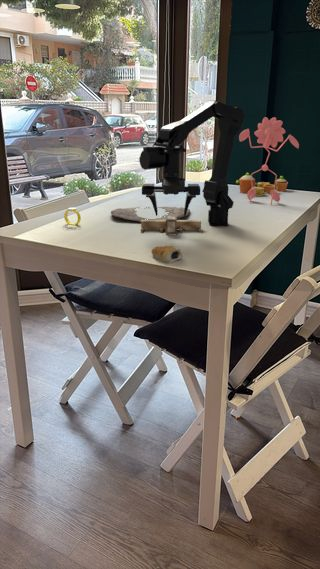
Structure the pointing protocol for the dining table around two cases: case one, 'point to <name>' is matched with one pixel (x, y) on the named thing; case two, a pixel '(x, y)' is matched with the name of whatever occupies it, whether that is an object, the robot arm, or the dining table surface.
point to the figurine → (268, 136)
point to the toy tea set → (261, 185)
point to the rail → (162, 225)
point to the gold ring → (75, 212)
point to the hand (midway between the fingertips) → (170, 215)
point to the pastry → (167, 253)
